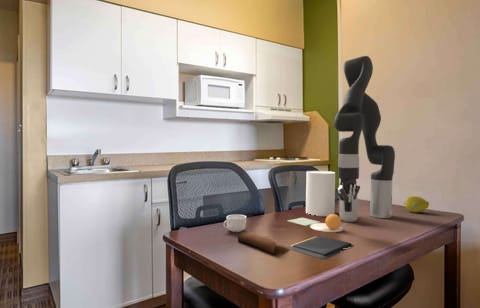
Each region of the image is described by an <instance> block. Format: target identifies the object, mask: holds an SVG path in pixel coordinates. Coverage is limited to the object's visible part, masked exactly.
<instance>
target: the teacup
mask: <svg viewBox="0 0 480 308" xmlns="http://www.w3.org/2000/svg"><path fill="white" fill-rule="evenodd" d="M222 225H223V228H225V229H228V230H229V231H230V232H232V233H241V232H244V230H245V228H246V226H247V215H244V214H229V215H227V216H226V220H224V222H223V224H222Z"/></svg>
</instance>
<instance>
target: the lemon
mask: <svg viewBox="0 0 480 308" xmlns="http://www.w3.org/2000/svg"><path fill="white" fill-rule="evenodd" d="M404 205H405V208H406V209H407V210H408V211H409V212H411V213H416V214H417V213H422V212H424V211H425V210H426V209H428V208H429V206H430V202H429V201H427V200H426V199H424V198H422V197H421V196H416V195H415V196H413V195H412V196H409V197H408V198H407V199H406V201H404Z"/></svg>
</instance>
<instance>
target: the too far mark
mask: <svg viewBox="0 0 480 308" xmlns="http://www.w3.org/2000/svg"><path fill="white" fill-rule="evenodd" d="M287 222H289V223H293V224H297V225H300V226H304V227H305V226H310V225H312V224H316V223H321V221H319V220H314V219H309V218H307V217H306V218H305V217H298V218H294V219H288V220H287Z"/></svg>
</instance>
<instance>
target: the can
mask: <svg viewBox="0 0 480 308" xmlns="http://www.w3.org/2000/svg"><path fill="white" fill-rule="evenodd" d="M358 199H359V198H358V196H357V197H356V199H355V200H353V202H352V211H351V212H345V209H344V201H342V200H340V199H339V214H338V216H339V217H340V219H341V222H345V223H355V222H356V221H357V220H358V208H359V207H358V203H359V201H358Z"/></svg>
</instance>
